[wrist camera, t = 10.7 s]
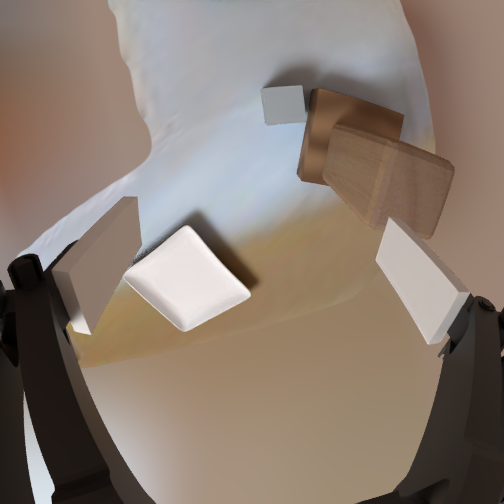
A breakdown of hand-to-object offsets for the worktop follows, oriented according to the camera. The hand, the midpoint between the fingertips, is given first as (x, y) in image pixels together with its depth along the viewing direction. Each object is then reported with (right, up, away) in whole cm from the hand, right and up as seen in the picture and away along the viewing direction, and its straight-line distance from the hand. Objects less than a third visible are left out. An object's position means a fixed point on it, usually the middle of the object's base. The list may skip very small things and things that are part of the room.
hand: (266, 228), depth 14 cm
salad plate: (-15, -7, +47) cm, 49 cm away
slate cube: (+4, +24, +29) cm, 38 cm away
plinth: (+16, +19, +32) cm, 40 cm away
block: (+16, +15, +29) cm, 36 cm away
